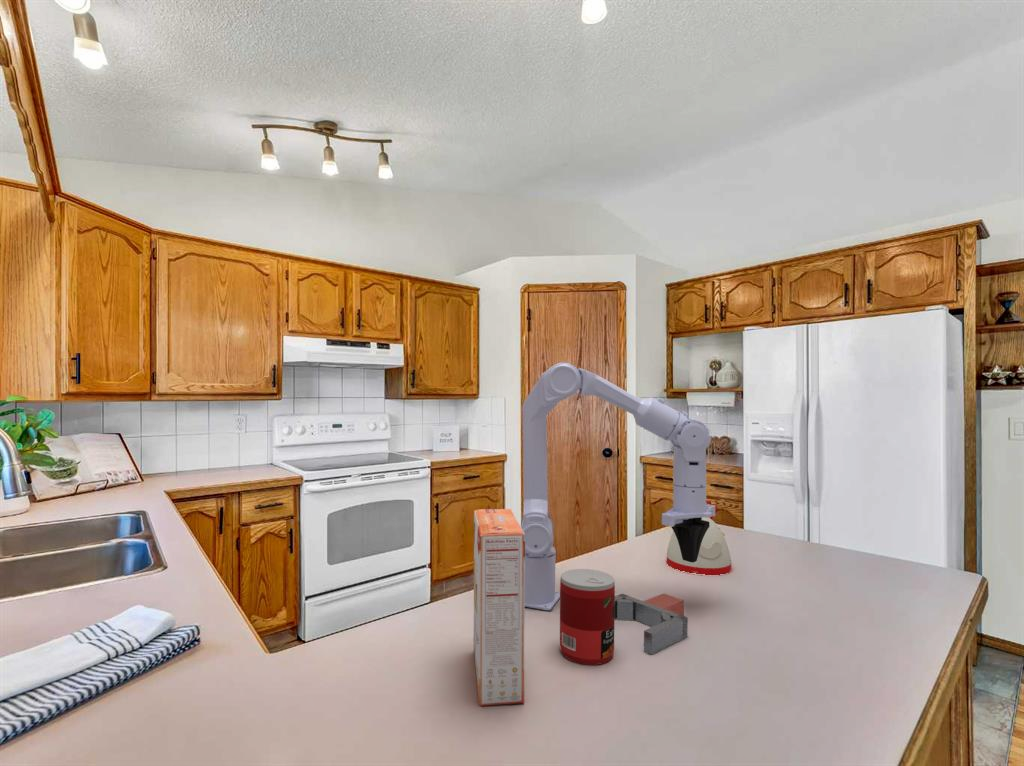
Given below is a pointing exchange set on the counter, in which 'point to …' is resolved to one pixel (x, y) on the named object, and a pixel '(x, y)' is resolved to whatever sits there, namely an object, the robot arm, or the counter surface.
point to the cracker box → (499, 606)
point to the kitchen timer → (703, 553)
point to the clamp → (655, 619)
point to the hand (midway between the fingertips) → (689, 560)
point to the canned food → (587, 616)
